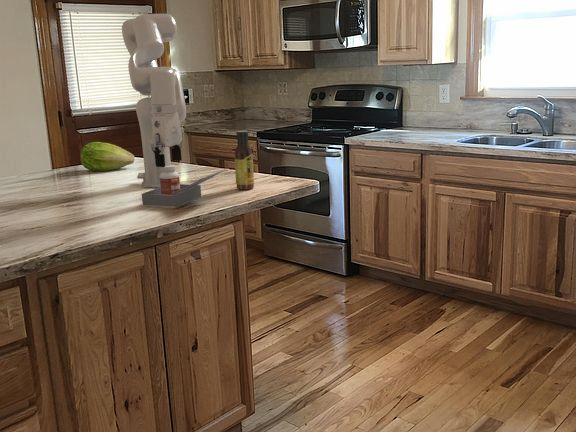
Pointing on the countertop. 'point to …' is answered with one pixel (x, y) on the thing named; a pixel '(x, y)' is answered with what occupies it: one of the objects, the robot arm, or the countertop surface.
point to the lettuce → (105, 157)
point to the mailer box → (171, 197)
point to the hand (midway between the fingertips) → (168, 163)
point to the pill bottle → (169, 180)
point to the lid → (201, 180)
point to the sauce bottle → (243, 162)
